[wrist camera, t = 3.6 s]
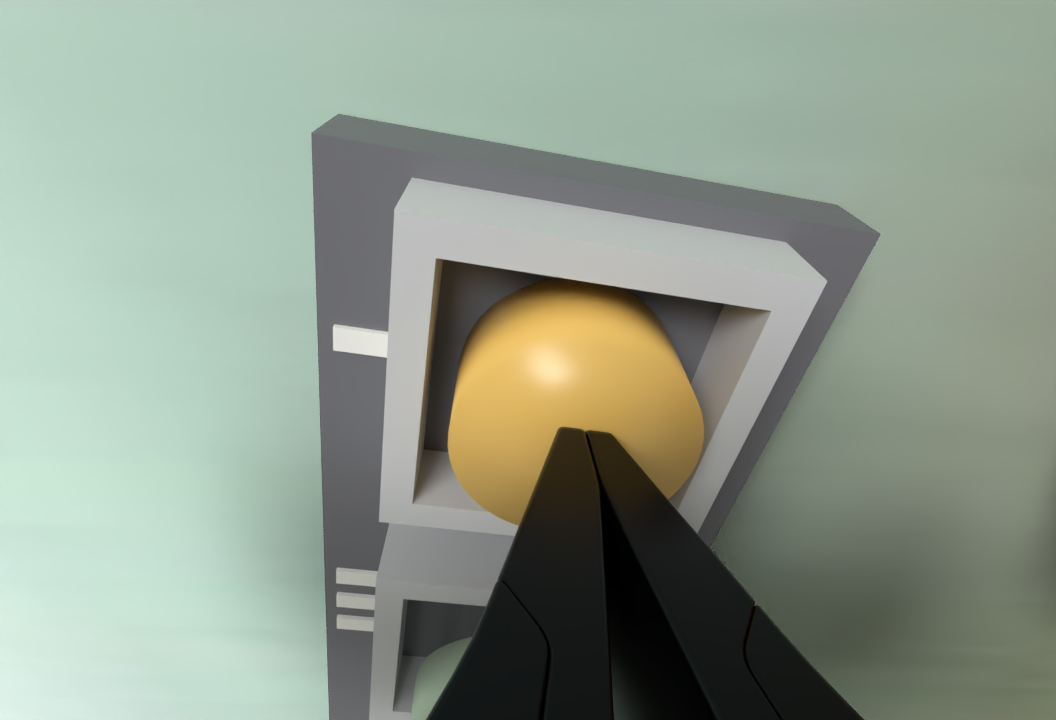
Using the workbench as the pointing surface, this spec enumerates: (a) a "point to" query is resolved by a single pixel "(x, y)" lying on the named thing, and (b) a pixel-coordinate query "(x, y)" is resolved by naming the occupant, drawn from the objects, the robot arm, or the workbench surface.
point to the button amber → (568, 390)
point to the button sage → (435, 677)
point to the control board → (456, 305)
